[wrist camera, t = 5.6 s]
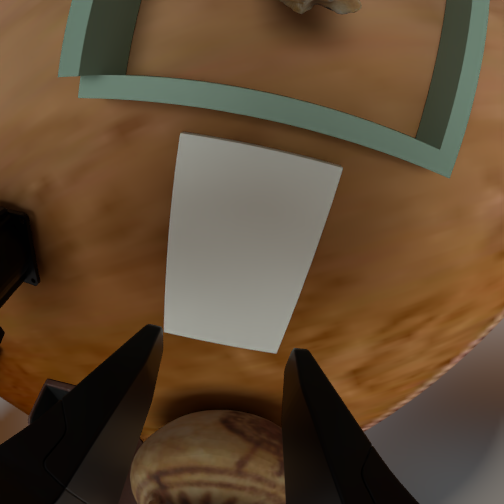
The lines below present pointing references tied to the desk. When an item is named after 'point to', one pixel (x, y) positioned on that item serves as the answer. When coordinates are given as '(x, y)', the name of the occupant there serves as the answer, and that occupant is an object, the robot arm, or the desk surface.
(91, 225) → the desk surface
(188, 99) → the cold frame
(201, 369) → the desk surface
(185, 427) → the clay pot
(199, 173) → the tile pad
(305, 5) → the lion figurine
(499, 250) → the desk surface
